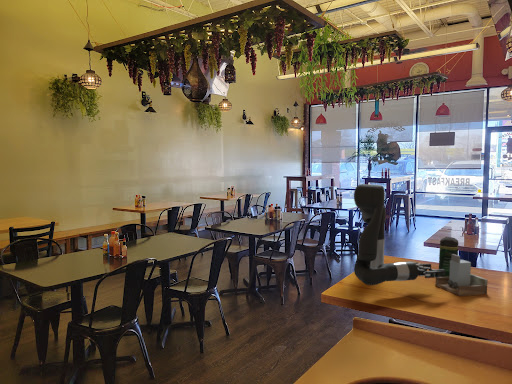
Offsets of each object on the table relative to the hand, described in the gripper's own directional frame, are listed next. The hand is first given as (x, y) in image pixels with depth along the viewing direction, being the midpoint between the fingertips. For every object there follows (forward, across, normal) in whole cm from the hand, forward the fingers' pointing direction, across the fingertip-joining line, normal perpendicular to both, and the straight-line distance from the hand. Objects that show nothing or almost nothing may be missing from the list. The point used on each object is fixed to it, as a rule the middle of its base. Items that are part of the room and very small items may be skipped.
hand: (437, 268), depth 163 cm
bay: (+12, 0, +10) cm, 15 cm away
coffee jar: (+20, +18, +10) cm, 29 cm away
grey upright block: (+11, 0, +8) cm, 14 cm away
